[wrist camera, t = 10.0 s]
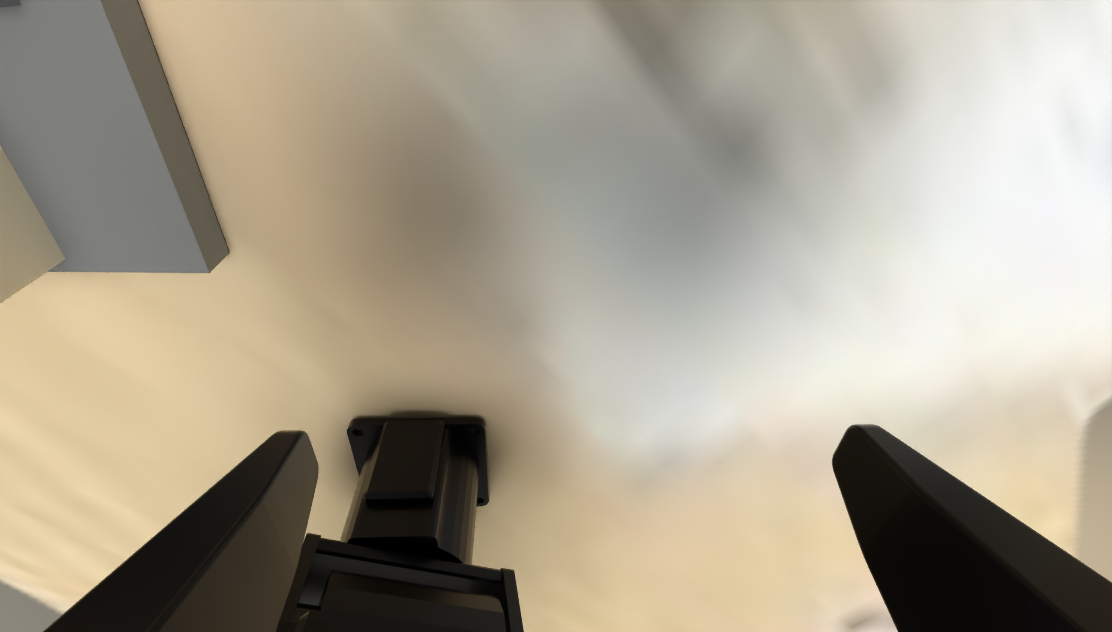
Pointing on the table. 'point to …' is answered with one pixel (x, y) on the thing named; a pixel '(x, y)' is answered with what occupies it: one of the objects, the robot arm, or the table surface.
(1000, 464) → the table surface
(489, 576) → the robot arm
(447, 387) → the table surface
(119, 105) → the socket board
